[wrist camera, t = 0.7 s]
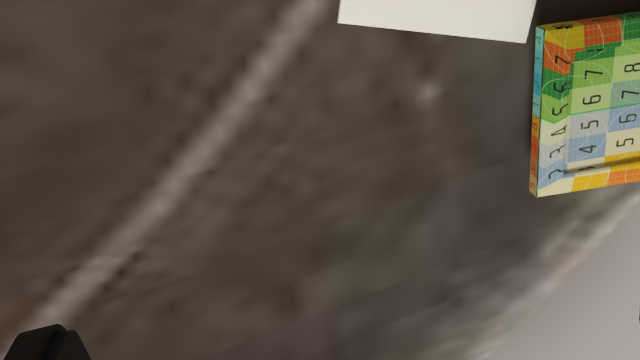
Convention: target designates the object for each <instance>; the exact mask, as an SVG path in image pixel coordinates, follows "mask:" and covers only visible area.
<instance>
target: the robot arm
mask: <svg viewBox="0 0 640 360" xmlns="http://www.w3.org/2000/svg"><path fill="white" fill-rule="evenodd" d="M639 319H640V318H639ZM4 360H91V359H90V357H89V355H88V353H87V351H86V349H85V347H84V345H83V343H82V341H81V339H80V337H79V335H78V333H77V332H75V331H74V330H69V331H66V329H65V328H64V327H63V326H62V325H59V324H55V325H51V326H47V327H43V328H39V329H35V330H30V331H26V332H23V333H21V334H19V335H18V336H17V337H16V339H15V340H14V342H13V344H12V346H11V347H10V349H9V351H8V353H7V355H6V356H5V358H4Z"/></svg>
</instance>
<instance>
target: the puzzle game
mask: <svg viewBox="0 0 640 360" xmlns="http://www.w3.org/2000/svg"><path fill="white" fill-rule="evenodd" d="M636 181H640V11H638V12H631V13H624V14H617V15H610V16H602V17H595V18H588V19H581V20H574V21H567V22H560V23H553V24H545V25H540V26H536V40H535V64H534V89H533V114H532V138H531V163H530V188H529V192H530V193H532V194H533V195H534V196H535V197H542V196H548V195H555V194H561V193H567V192H573V191H580V190H586V189H592V188H598V187H605V186H611V185H617V184H623V183H630V182H636Z"/></svg>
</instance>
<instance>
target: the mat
mask: <svg viewBox="0 0 640 360" xmlns="http://www.w3.org/2000/svg"><path fill="white" fill-rule="evenodd" d="M535 4H536V0H340V4H339V11H338V19H337V22H338V23H344V24H353V25H362V26H371V27H380V28H389V29H399V30H408V31H417V32H426V33H435V34H444V35H454V36H463V37H472V38H481V39H490V40H500V41H509V42H518V43H526V40H527V36H528V32H529V28H530V24H531V20H532V16H533V12H534V8H535Z"/></svg>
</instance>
